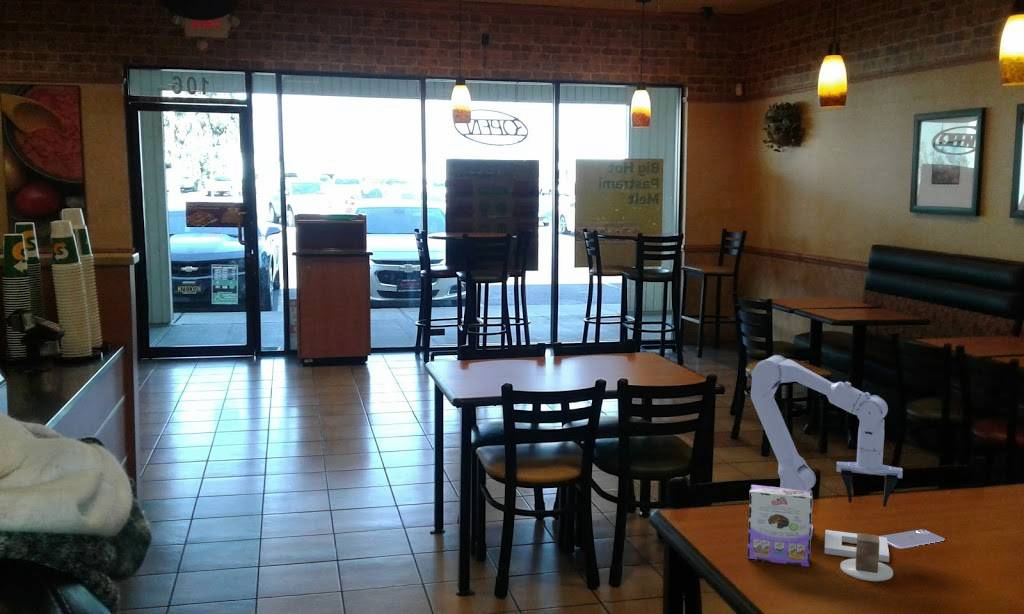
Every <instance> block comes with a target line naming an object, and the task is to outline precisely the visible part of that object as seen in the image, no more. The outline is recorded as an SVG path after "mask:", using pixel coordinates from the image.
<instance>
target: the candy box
mask: <svg viewBox="0 0 1024 614" xmlns="http://www.w3.org/2000/svg"><path fill="white" fill-rule="evenodd" d="M748 495H749V500H748V507H749V508H748V526H747V527H748V529H747V534H748V535H747V556H746V558H747V557H748V558H751V559H757V560H762V561H761V562H765V561H767V563H776V564H782V563H783V565H792V566H798V567H799V566H800V567H808V568H809V567H810V563H811V562H810V560H811V545H812V543H811V540H812V537H811V527H812V525H813V524H812V523H813V522H812V521H813V501H812V495H813V491H812V490H800V489H790V488H780V486H778V487H777V486H769V485H760V484H759V485H758V484H751V485H750V489H749V493H748ZM757 560H756V561H757Z"/></svg>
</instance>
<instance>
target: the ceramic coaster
mask: <svg viewBox="0 0 1024 614" xmlns="http://www.w3.org/2000/svg"><path fill="white" fill-rule="evenodd" d="M839 568H840V571H842V573H844V574H845V575H848V576H849V577H850V578H851V577H852V578H853V579H858V580H861V581H866V582H867V581H868V582H885V581H889V580H891V579H892V578H893V576H894V571H893V569H892V567H890V566H888V565H887V564H885V563H883V562H881V561H878V573H873V572H866V571H858V570H856V558H848V559H844V560H842V561H841V562H840V567H839Z"/></svg>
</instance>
